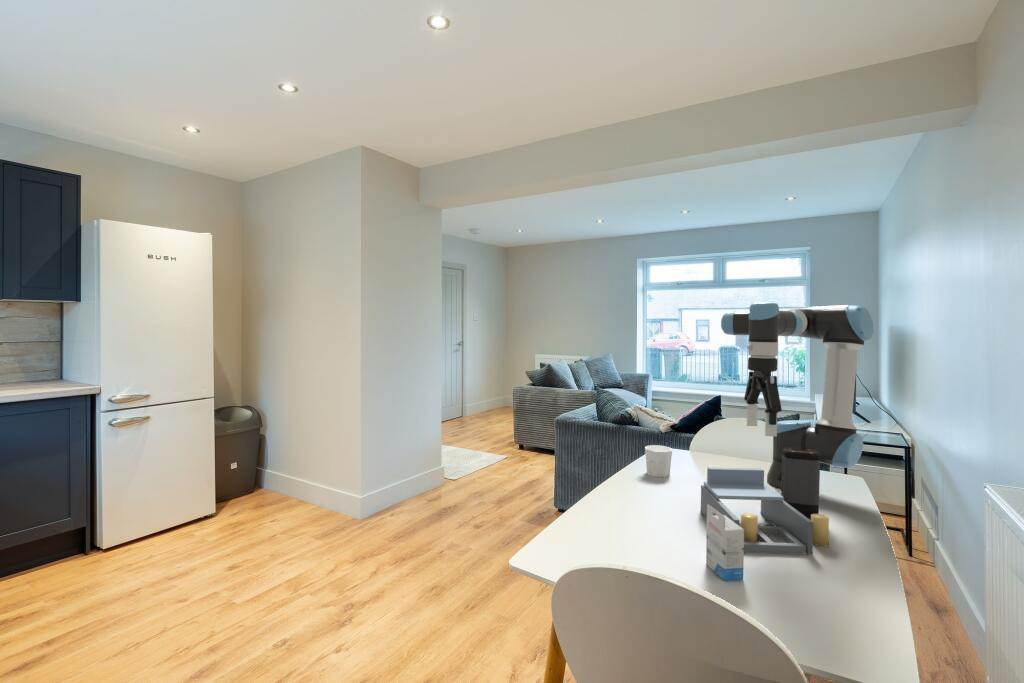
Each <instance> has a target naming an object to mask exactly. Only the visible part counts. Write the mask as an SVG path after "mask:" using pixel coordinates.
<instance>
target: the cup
mask: <svg viewBox="0 0 1024 683" xmlns="http://www.w3.org/2000/svg"><path fill="white" fill-rule="evenodd" d="M644 449H645V450H644V452H645V463H646V466H645V467H646V473H647V474H648V475H649V476H653V477H655V478H659V477H660V478H666V477H668V476H670V475H671V466H672V465H671V463H672V456H673V448H671V447H669V446H665V445H660V444H658V445H657V444H656V445H655V444H652V445H651V444H650V445H646V446H645V447H644Z"/></svg>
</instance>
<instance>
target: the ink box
mask: <svg viewBox="0 0 1024 683" xmlns="http://www.w3.org/2000/svg"><path fill="white" fill-rule="evenodd" d="M713 513H714V514H715V513H716V516H713ZM739 525H740V524H739ZM739 525H737V524H736V523H734V522H733V521H732V520H730V519H729V518H728V517H726V516H725V515H722V514H721V513H719V512H718V511H717V510H716V509H714V508H713V507H711V506H710V505H709V504H708V505H707V518H706V533H705V534H706V538H705V539H706V540H705V542H706V544H705V548H706V549H705V550H706V551H705V554H706V555H705V558H706V560H705V564H706V565H707V566H708V567H709V568H710V569H711V570H712V571H713V573H715V574H716V575H717V576H718V577H719V578H720V579H721V580H722V581H723V582H730V581H743V580H744V566H745V564H744V561H745V560H744V559H745V558H744V556H745V555H744V553H745V552H744V529H743V528H741V527H740V526H739Z"/></svg>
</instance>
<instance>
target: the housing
mask: <svg viewBox="0 0 1024 683" xmlns="http://www.w3.org/2000/svg"><path fill="white" fill-rule="evenodd" d="M708 504H709V505H710V506H711V507H713V508H714V509H716V510H717V511H718V512H719V513H721V514H722V515H725V516H726V517H728V518H729V519H730V520H732V521H733V522H734V523H736V524H737V525H739V526H740V527H741V524H740V519H739V517H737V516H736V515H735V514H734V513H733V512H732V511H731V510H730V509H729V508H728V507H727V506H726V504H725V503H723V501H722V500H721V499H717V498H716V497H715V496H714V495H713V494H712V493H711V492H710V491H709V490H708V489H707V488H706V487H705V486H704V484H701V485H700V513H702V515H703V516H704V517H705V518H706V519H707V505H708ZM760 514H761V515H762V516H763V517H765V518H766V519H767V520H768V522H770V523H771V524H773V525H774V526H773V525H758V533H757V542H745V541H744V553H758V554H759V553H760V554H761V553H762V554H786V555H787V554H788V555H789V554H790V555H791V554H792V555H794V554H795V555H813V548H814V544H813V522H812V521H811V520H810V519H808V518H807V517H805V516H804V515H803V514H801V513H800V512H799V511H797V510H796V509H795V508H793V507H792V506H791V505H789V504H788V503H787V502H785V501H774V500H760ZM713 516H716V513H715V514H714V513H713ZM768 536H771V537H772V536H775V537H780V539H782V540H783V541H784V542H773V541H772V539H770V538H769V537H768Z"/></svg>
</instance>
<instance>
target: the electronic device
mask: <svg viewBox="0 0 1024 683" xmlns="http://www.w3.org/2000/svg"><path fill="white" fill-rule="evenodd" d="M820 465H821V463H820V454H819V453H818V452H817V451H815V450H810V449H807V451H799V450H792V449H791V448H784V449H783V452H782V488H781V494H780V495H781V496H783V497H784V501H785V502H787V503H788V504H789V505H791V506H792V507H793V508H795V509H796V510H797V511H799V512H800V513H801V514H803V515H804V516H805V517H807V518H808V519H810V520H811V514H820V512H819V511H820V480H821V479H820V478H821V477H820V476H821V474H820V473H821V472H820V471H821V466H820Z"/></svg>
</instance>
